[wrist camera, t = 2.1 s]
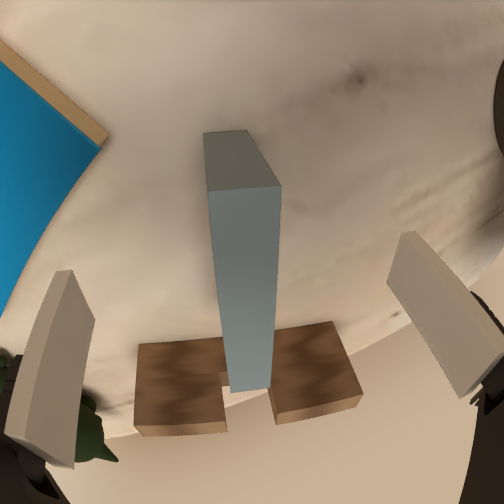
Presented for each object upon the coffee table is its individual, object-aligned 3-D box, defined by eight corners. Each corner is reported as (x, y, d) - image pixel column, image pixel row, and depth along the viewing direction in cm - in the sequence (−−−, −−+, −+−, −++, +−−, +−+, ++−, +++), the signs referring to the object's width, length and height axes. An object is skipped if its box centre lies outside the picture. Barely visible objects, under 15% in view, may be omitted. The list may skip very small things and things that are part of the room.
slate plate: (203, 133, 20) (207, 192, 12) (246, 130, 20) (281, 186, 12) (218, 301, 29) (230, 392, 21) (249, 298, 30) (270, 387, 22)
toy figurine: (-16, 348, 31) (112, 423, 42) (-56, 447, 15) (100, 521, 26) (-9, 319, 28) (138, 408, 39) (-63, 436, 12) (128, 523, 23)
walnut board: (332, 321, 34) (363, 394, 26) (328, 337, 36) (355, 406, 28) (138, 344, 32) (133, 425, 24) (145, 359, 33) (143, 436, 25)
